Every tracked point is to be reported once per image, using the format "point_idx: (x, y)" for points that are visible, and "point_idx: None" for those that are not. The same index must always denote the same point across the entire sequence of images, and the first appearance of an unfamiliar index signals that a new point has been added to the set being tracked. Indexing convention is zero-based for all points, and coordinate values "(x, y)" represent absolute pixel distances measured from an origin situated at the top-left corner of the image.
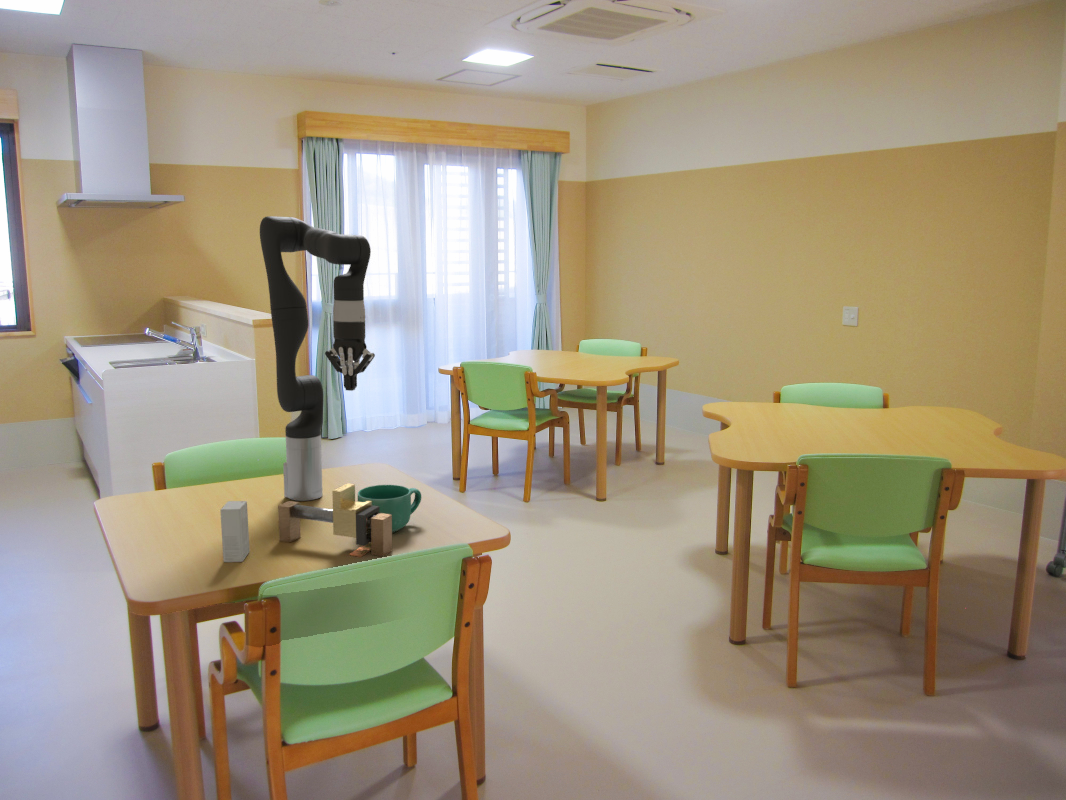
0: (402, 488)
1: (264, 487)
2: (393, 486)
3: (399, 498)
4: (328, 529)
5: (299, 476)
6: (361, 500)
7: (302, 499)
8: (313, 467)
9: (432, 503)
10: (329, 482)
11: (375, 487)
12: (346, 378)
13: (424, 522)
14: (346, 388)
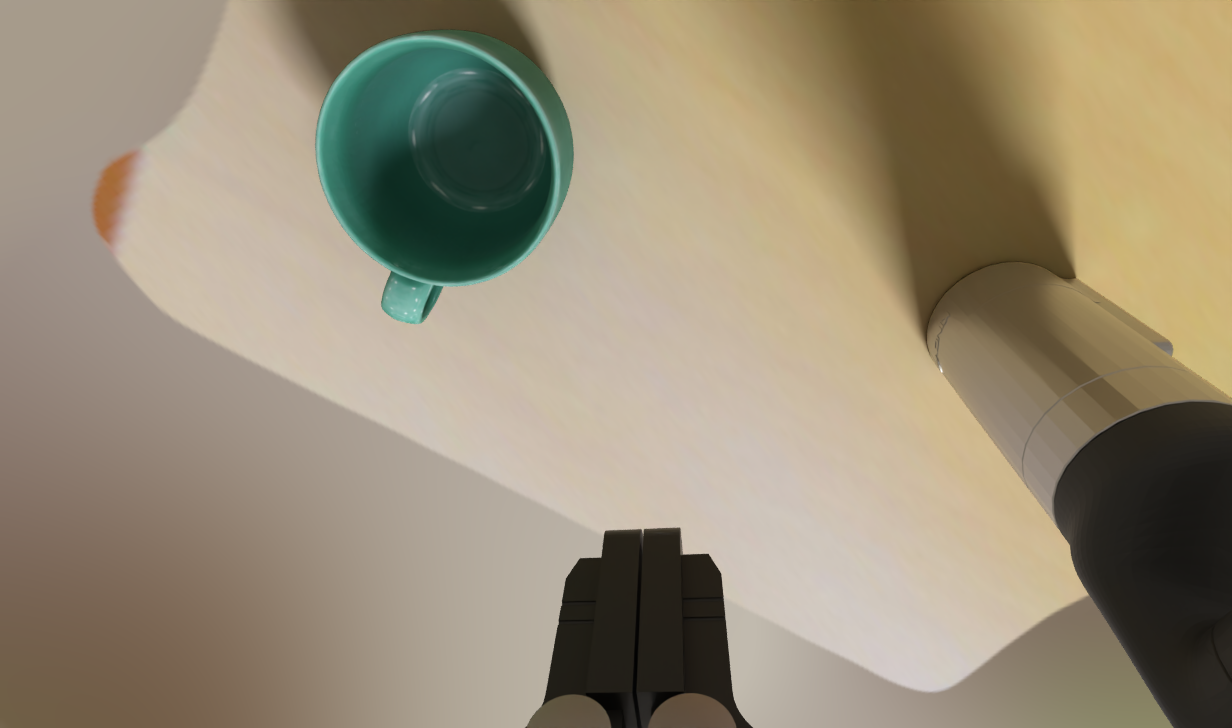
0: (426, 273)
1: (1229, 349)
2: (473, 276)
3: (317, 124)
4: (673, 20)
5: (1035, 308)
6: (476, 42)
7: (978, 273)
8: (993, 368)
9: (518, 441)
10: (987, 490)
11: (535, 231)
12: (661, 650)
13: None
14: (663, 535)
